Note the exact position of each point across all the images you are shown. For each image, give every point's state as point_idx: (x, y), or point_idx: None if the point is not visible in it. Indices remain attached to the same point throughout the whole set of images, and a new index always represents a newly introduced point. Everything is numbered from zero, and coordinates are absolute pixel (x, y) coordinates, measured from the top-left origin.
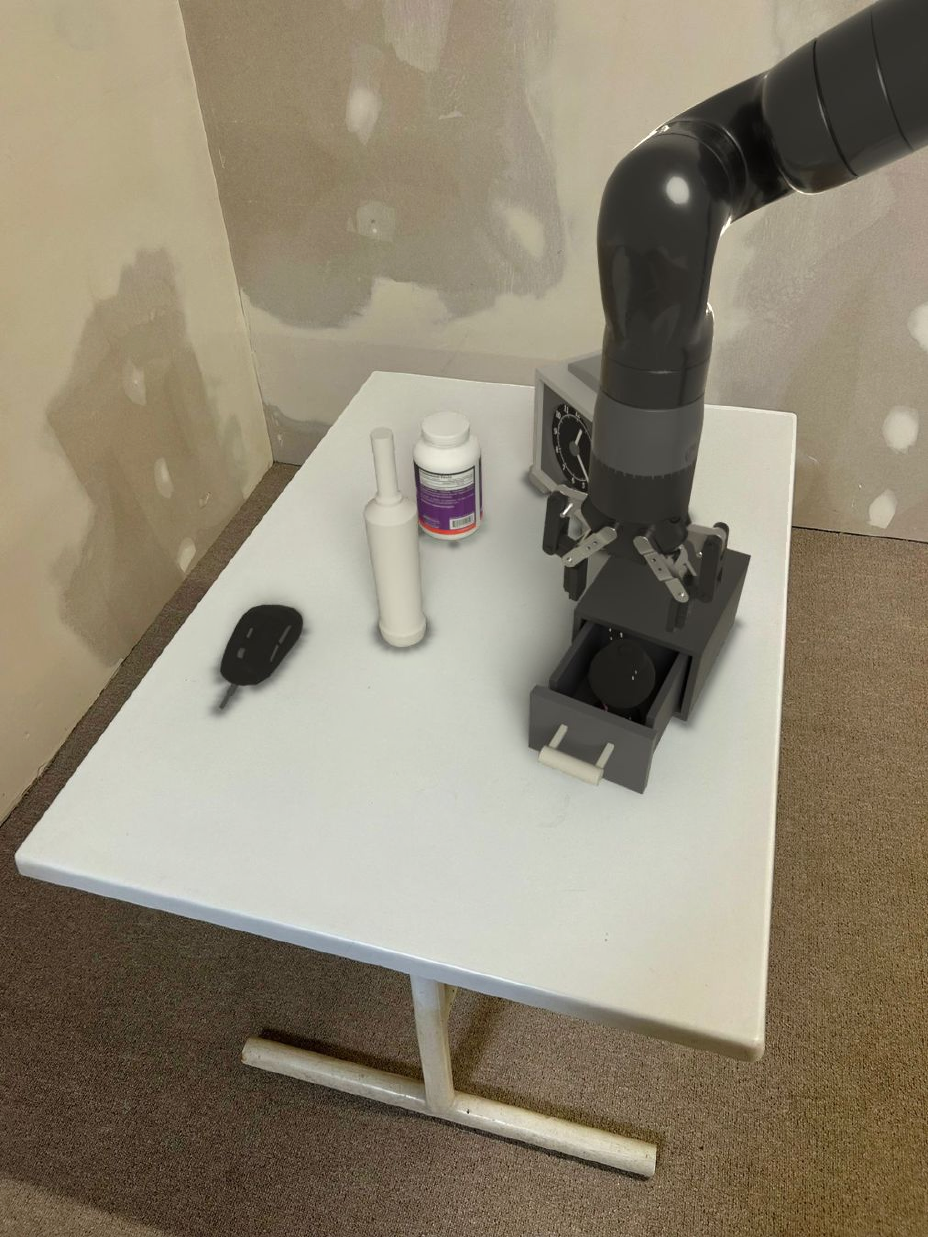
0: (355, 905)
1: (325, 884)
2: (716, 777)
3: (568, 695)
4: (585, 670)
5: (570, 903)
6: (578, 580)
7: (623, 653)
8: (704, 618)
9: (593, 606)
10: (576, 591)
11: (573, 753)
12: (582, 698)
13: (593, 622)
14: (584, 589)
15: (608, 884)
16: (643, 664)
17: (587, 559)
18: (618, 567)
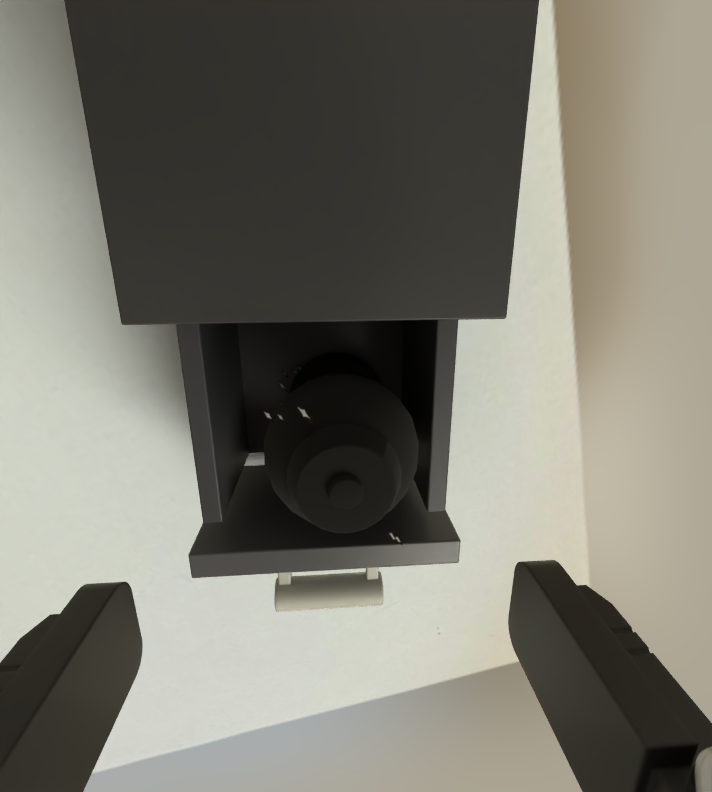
0: (183, 723)
1: (137, 723)
2: (504, 380)
3: (239, 408)
4: (233, 325)
5: (389, 620)
6: (79, 783)
7: (347, 508)
8: (482, 171)
9: (163, 283)
10: (113, 722)
11: None
12: (259, 372)
13: None
14: (126, 589)
15: (419, 584)
16: (399, 483)
17: (4, 773)
18: (125, 31)
